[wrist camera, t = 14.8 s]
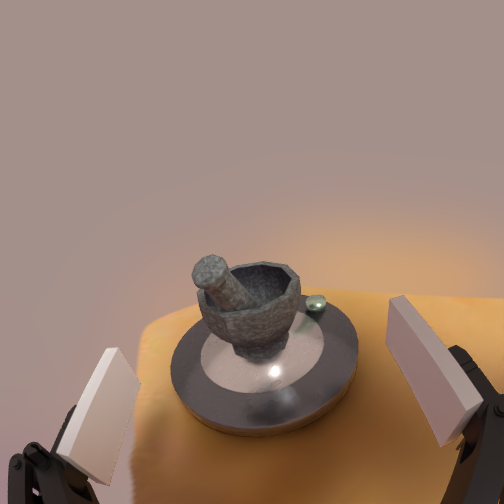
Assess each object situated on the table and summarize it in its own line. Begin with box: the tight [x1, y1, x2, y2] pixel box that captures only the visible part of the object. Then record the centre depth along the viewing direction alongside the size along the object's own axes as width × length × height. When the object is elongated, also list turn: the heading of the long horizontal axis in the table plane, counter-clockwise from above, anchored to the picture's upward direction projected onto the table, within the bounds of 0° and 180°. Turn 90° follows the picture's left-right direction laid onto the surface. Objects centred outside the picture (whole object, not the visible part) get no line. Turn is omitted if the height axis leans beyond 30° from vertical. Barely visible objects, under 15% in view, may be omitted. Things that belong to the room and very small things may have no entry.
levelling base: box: [171, 295, 358, 437], centre depth 28 cm, size 20×20×4 cm
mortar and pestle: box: [192, 255, 301, 361], centre depth 25 cm, size 11×9×12 cm
